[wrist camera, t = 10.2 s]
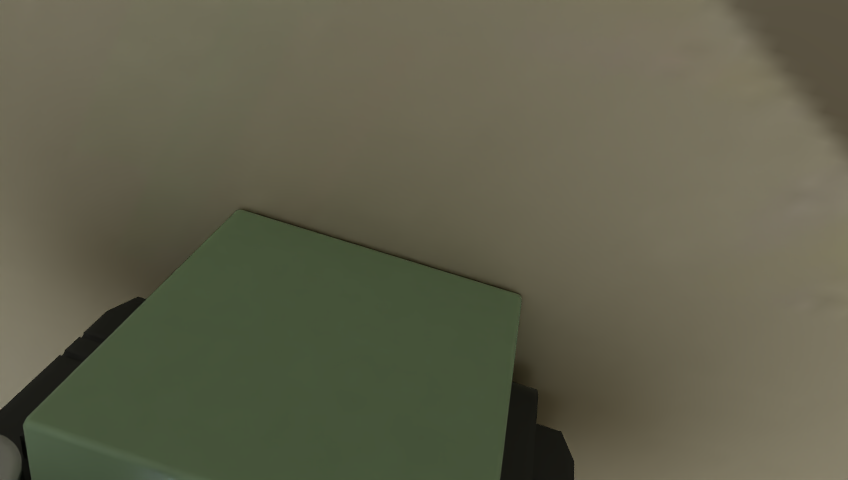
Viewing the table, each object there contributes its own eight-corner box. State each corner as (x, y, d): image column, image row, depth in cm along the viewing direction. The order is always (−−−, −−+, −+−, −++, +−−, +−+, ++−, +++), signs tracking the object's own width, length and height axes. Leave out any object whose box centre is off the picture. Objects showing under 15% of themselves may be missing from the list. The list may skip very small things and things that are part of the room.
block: (237, 206, 10) (16, 421, 6) (523, 293, 10) (489, 577, 6) (221, 410, 12) (56, 659, 8) (450, 484, 12) (391, 778, 8)
